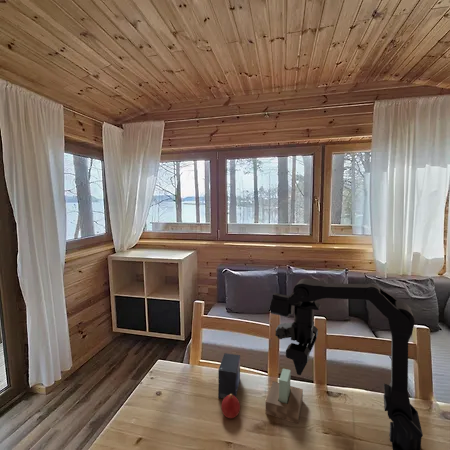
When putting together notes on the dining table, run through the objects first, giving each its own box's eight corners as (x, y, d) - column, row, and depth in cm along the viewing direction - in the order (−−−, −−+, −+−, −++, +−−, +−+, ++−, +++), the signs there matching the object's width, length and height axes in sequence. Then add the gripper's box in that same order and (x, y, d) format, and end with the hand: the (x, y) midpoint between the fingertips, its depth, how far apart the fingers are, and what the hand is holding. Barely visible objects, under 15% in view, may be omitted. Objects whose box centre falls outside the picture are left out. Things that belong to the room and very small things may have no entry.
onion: (217, 417, 84) (217, 393, 83) (231, 407, 88) (230, 384, 87) (230, 428, 80) (230, 403, 79) (243, 418, 83) (243, 394, 83)
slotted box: (302, 403, 89) (302, 389, 89) (298, 426, 80) (298, 411, 80) (272, 394, 93) (273, 381, 93) (265, 416, 84) (265, 401, 84)
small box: (236, 401, 90) (236, 372, 89) (217, 398, 92) (217, 370, 91) (240, 380, 101) (240, 354, 100) (224, 378, 102) (223, 352, 101)
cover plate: (290, 401, 89) (290, 370, 88) (286, 414, 83) (287, 381, 82) (282, 399, 90) (282, 368, 89) (278, 412, 84) (279, 379, 83)
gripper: (286, 304, 96) (285, 345, 97) (269, 326, 80) (268, 375, 81) (318, 310, 91) (317, 354, 92) (307, 335, 74) (306, 387, 76)
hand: (302, 366), depth 85 cm, fingers open, 9 cm apart
